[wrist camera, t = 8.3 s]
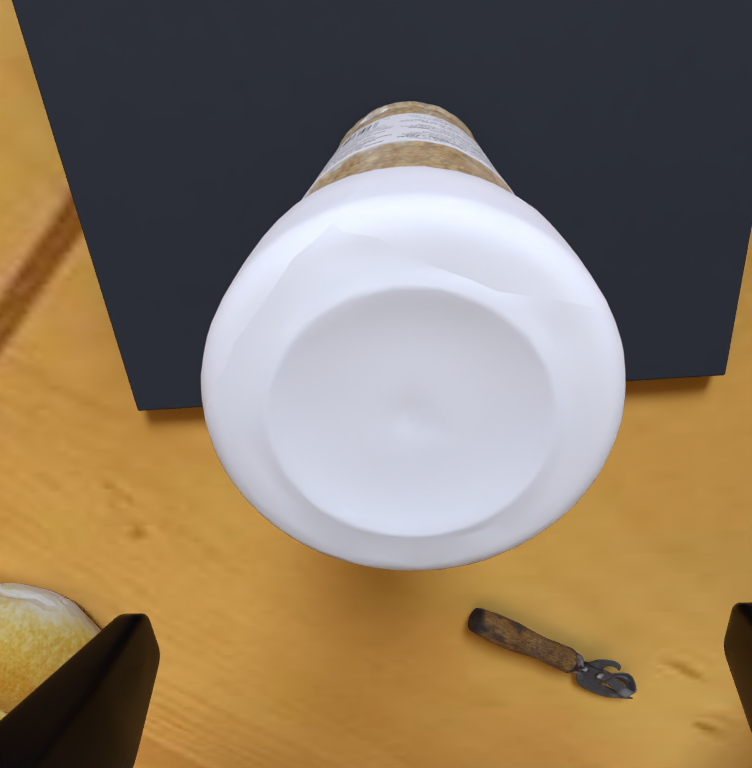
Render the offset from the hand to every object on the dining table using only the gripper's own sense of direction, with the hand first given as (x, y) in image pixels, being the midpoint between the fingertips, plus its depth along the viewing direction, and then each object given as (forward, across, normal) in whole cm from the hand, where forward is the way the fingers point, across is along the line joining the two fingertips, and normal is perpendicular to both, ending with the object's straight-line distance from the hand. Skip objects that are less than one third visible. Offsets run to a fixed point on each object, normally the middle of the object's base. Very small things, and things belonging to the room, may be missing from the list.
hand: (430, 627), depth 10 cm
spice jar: (+12, 0, -4) cm, 13 cm away
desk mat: (+13, 0, -4) cm, 14 cm away
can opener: (+13, -5, +16) cm, 21 cm away
